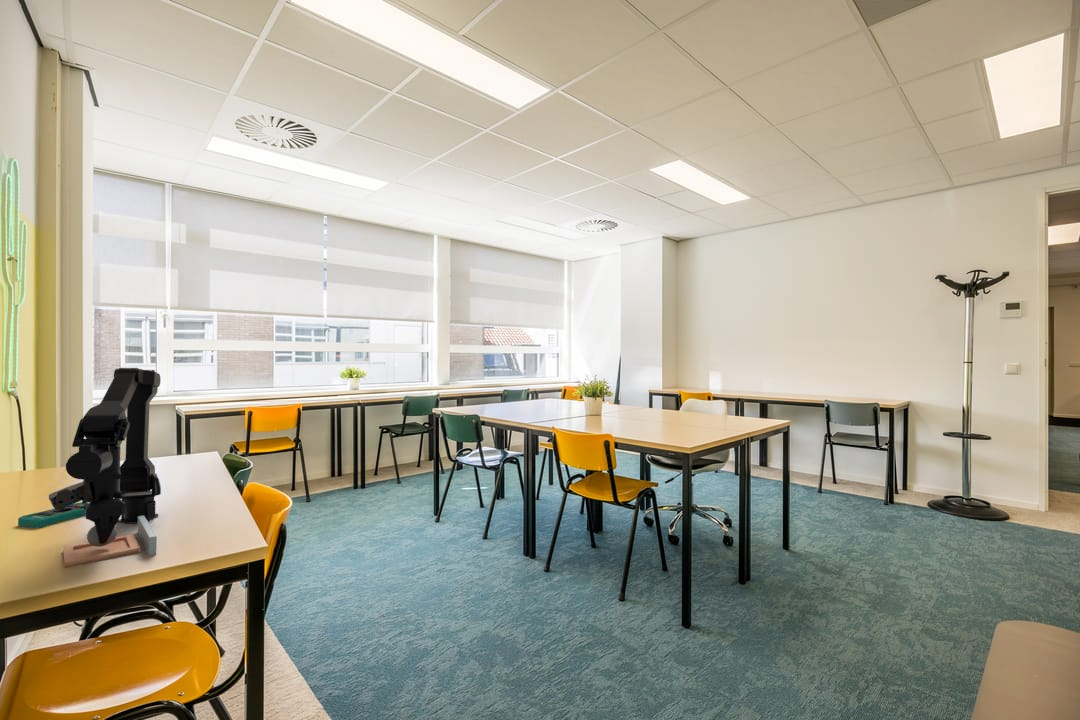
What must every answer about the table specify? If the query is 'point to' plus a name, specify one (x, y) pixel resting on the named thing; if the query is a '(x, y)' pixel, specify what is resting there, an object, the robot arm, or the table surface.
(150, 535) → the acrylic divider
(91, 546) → the pad
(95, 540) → the rubber ball
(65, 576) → the table surface
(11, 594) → the table surface
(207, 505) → the table surface
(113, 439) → the robot arm
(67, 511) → the digital multimeter
